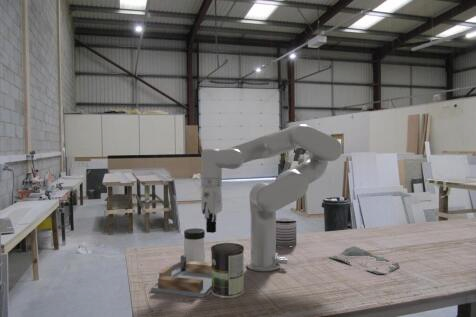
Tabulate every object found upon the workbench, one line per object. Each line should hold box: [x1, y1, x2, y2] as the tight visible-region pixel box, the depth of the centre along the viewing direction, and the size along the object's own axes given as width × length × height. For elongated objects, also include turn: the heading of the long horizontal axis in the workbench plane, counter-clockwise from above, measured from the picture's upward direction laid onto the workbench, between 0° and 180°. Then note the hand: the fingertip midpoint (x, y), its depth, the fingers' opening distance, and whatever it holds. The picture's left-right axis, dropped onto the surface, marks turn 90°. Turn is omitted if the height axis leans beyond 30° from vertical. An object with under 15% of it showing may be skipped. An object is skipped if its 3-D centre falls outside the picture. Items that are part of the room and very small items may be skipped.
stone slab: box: [330, 245, 400, 275], centre depth 141 cm, size 24×16×2 cm, turn 33°
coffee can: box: [210, 242, 245, 299], centre depth 114 cm, size 10×10×14 cm
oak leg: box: [186, 261, 212, 274], centre depth 128 cm, size 12×3×3 cm, turn 74°
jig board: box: [150, 266, 212, 298], centre depth 122 cm, size 18×20×4 cm
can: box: [276, 217, 297, 248], centre depth 167 cm, size 11×11×12 cm
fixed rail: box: [157, 276, 203, 293], centre depth 114 cm, size 14×3×3 cm, turn 74°
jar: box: [183, 227, 206, 263], centre depth 145 cm, size 9×8×12 cm
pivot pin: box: [180, 254, 186, 271], centre depth 130 cm, size 2×2×5 cm
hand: (211, 231), depth 134 cm, fingers closed
